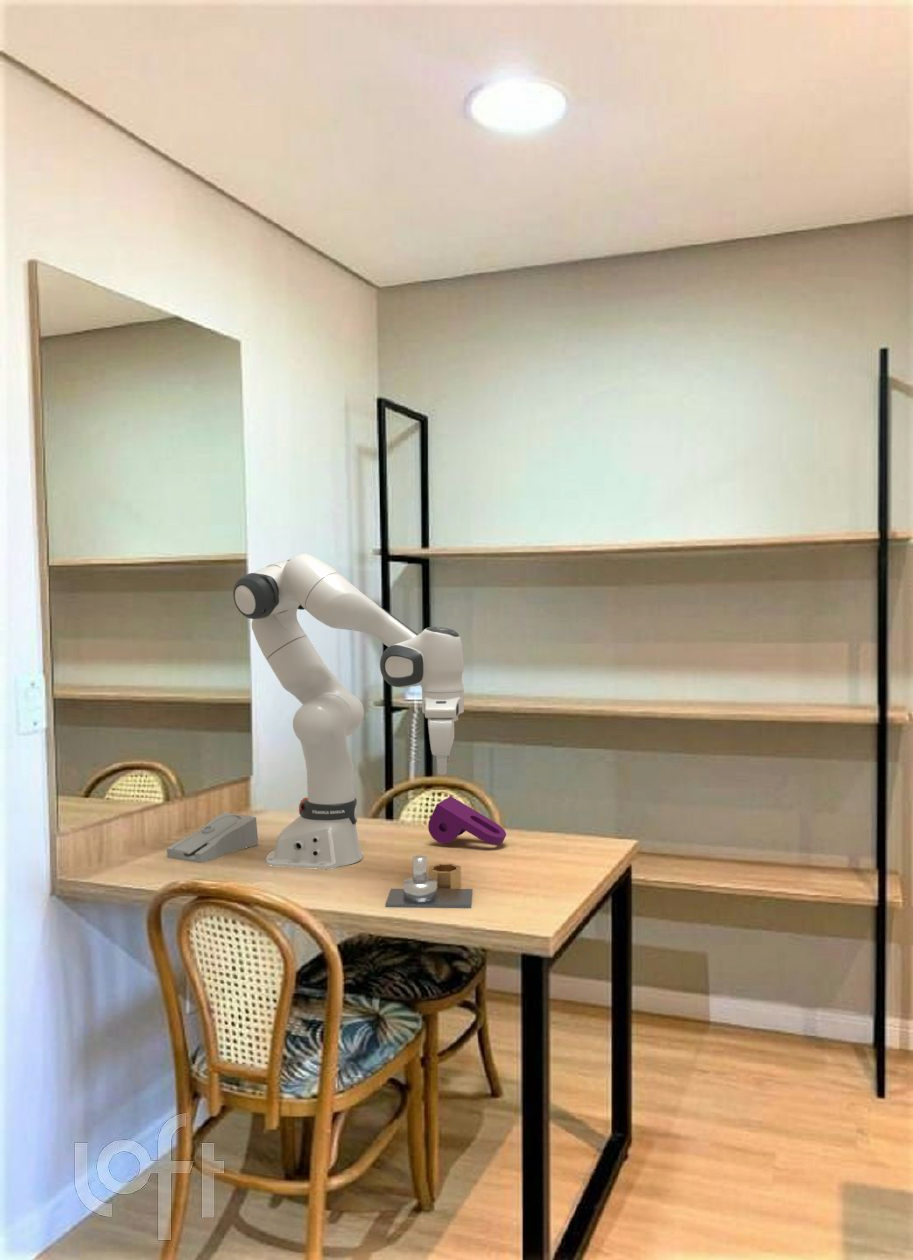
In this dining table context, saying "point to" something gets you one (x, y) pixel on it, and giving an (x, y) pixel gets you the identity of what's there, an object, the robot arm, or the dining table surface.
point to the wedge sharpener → (216, 839)
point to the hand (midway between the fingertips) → (443, 769)
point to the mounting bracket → (462, 823)
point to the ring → (446, 875)
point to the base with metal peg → (427, 891)
